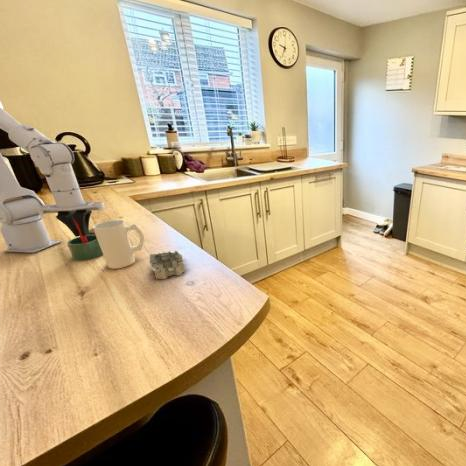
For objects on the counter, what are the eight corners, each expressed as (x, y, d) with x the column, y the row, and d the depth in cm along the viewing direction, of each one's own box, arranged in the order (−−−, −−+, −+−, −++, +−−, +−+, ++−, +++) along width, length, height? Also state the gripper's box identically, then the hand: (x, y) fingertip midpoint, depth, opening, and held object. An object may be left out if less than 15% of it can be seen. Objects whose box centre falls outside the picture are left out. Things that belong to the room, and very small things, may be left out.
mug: (107, 271, 77) (92, 230, 73) (106, 262, 82) (92, 223, 77) (151, 261, 83) (140, 222, 79) (148, 253, 88) (137, 215, 83)
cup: (66, 259, 83) (60, 244, 81) (89, 248, 90) (84, 234, 88) (90, 261, 83) (84, 245, 81) (111, 250, 89) (106, 235, 88)
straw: (83, 247, 85) (71, 215, 81) (87, 246, 86) (75, 214, 82) (86, 248, 85) (74, 216, 81) (90, 246, 86) (79, 214, 82)
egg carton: (186, 274, 77) (183, 260, 75) (153, 282, 73) (149, 268, 71) (182, 258, 85) (179, 245, 83) (151, 265, 81) (148, 252, 79)
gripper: (103, 184, 84) (117, 227, 89) (41, 187, 80) (59, 232, 85) (91, 190, 78) (107, 236, 83) (24, 193, 74) (44, 241, 79)
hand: (82, 235), depth 84 cm, fingers closed on straw, 1 cm apart
